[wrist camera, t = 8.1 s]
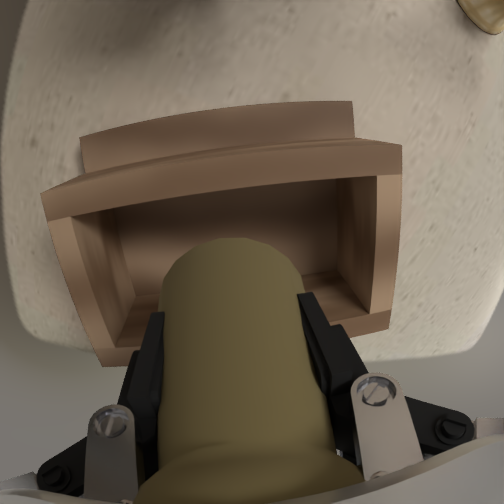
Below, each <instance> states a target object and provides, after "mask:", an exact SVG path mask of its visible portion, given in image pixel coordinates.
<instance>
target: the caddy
mask: <svg viewBox="0 0 504 504" xmlns="http://www.w3.org/2000/svg"><path fill="white" fill-rule="evenodd" d="M79 139H80V145H81V151H82V157H83V163H84V169H85V174H83V175H80V176H78V177H76V178H73V179H71V180H69V181H67V182H64V183H62V184H60V185H58V186H55V187H53V188H51V189H49V190H47V191H45V192H43V193H40V194H41V199H42V203H43V207H44V211H45V215H46V219H47V223H48V226H49V230H50V234H51V237H52V241H53V244H54V247H55V250H56V254H57V257H58V260H59V263H60V266H61V269H62V272H63V275H64V278H65V281H66V283H67V286H68V289H69V292H70V294H71V297H72V299H73V302H74V305H75V307H76V310H77V312H78V314H79V317H80V319H81V322H82V324H83V326H84V329H85V331H86V333H87V335H88V338H89V340H90V342H91V344H92V346H93V349H94V351H95V353H96V355H97V357H98V359H99V361H100V363H101V365H102V367H116V366H128V365H129V362H130V359H131V355H132V353H133V351H135V350H140V348H141V344H142V341H143V338H144V334H145V331H146V328H147V325H148V321H149V318H150V315H151V313H152V312H158V305H159V296H160V292H161V287H162V283H163V279H164V277H165V276H166V274H167V273H168V271H169V270H170V268H171V267H172V265H173V264H174V262H175V261H176V260H177V259H178V258H180V257H181V256H182V255H184V254H185V253H186V252H188V251H189V250H190V249H192V248H193V247H195V246H197V245H200V244H203V243H206V242H209V241H212V240H215V239H218V238H248V239H251V240H255V241H258V242H262V243H265V244H268V245H270V246H272V247H273V248H275V249H276V250H278V251H279V252H280V253H282V254H283V255H285V256H286V257H288V258H289V260H290V261H291V262H292V264H293V265H294V267H295V268H296V269H297V271H298V272H299V274H300V275H301V278H302V282H303V286H304V290H305V293H306V292H313V293H314V295H315V297H316V299H317V301H318V303H319V305H320V307H321V308H322V310H323V312H324V314H325V316H326V318H327V320H328V322H329V324H330V326H331V325H336V324H341V325H342V326H343V328H344V329H345V331H346V333H347V335H348V337H349V338H352V337H356V336H361V335H365V334H370V333H374V332H378V331H382V330H386V329H388V328H389V322H390V316H391V310H392V303H393V296H394V288H395V280H396V272H397V262H398V252H399V240H400V225H401V205H402V145H399V144H393V143H387V142H381V141H375V140H368V139H361V138H355V133H354V118H353V106H352V101H309V102H286V103H270V104H257V105H246V106H237V107H228V108H220V109H212V110H205V111H198V112H191V113H185V114H179V115H174V116H168V117H163V118H157V119H152V120H148V121H143V122H138V123H134V124H129V125H125V126H121V127H117V128H113V129H109V130H105V131H101V132H97V133H94V134H90V135H86V136H83V137H79Z"/></svg>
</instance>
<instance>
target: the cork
mask: <svg viewBox="0 0 504 504" xmlns="http://www.w3.org/2000/svg"><path fill="white" fill-rule="evenodd" d="M300 293H305V290H304V286H303V282H302V278H301V275H300V274H299V272H298V271H297V269H296V268H295V267H294V265H293V264H292V262H291V261H290V260H289V258H288V257H286V256H285V255H283V254H282V253H280V252H279V251H278V250H276V249H275V248H273V247H272V246H270V245H268V244H265V243H262V242H258V241H255V240H251V239H248V238H218V239H215V240H212V241H209V242H206V243H203V244H200V245H197V246H195V247H193V248H192V249H190V250H189V251H188V252H186V253H185V254H184V255H182V256H181V257H180V258H178V259H177V260H176V261H175V262H174V264H173V265H172V267H171V268H170V270H169V271H168V273H167V274H166V276H165V277H164V279H163V283H162V287H161V292H160V296H159V305H158V312H162V311H164V312H165V318H164V326H163V343H164V363H163V375H162V387H161V401H160V406H159V411H158V415H157V416H158V421H157V452H158V469H159V471H157V472H156V473H155V474H154V475H153V476H152V477H150V478H149V479H148V480H147V481H146V482H144V483H143V484H142V485H141V486H140V487H139V491H138V493H137V495H136V497H135V499H134V501H133V503H132V504H268V503H274V502H279V501H284V500H289V499H295V498H300V497H305V496H310V495H315V494H320V493H324V492H328V491H332V490H336V489H340V488H344V487H348V486H351V485H355V484H358V483H362V482H365V481H366V480H365V479H364V477H363V475H362V473H361V471H360V469H359V467H357V466H356V465H354V464H353V463H351V462H350V461H348V460H346V459H344V458H342V457H341V456H339V455H337V451H336V445H335V440H334V434H333V428H332V423H331V418H330V412H329V407H328V403H327V398H326V396H325V395H324V394H323V393H322V392H321V389H320V385H319V382H318V378H317V375H316V371H315V368H314V364H313V361H312V357H311V354H310V350H309V347H308V343H307V340H306V336H305V333H304V330H303V326H302V321H301V314H300V307H299V300H298V296H297V294H300Z"/></svg>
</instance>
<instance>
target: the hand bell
mask: <svg viewBox="0 0 504 504" xmlns="http://www.w3.org/2000/svg"><path fill="white" fill-rule="evenodd" d="M457 1H458V3H459V4H460V6H461V7H462V9H463V10H464V12H465V13H466V14H467V16H468V17H469V18H470V19H471V20H472V21H473V22H474V23H475V24H476V25H477V26H478V27H479V28H481V29H482V30H484V31H485V32H487V33H490V34H499V33H501V32H502V31H503V30H504V0H457Z"/></svg>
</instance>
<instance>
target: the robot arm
mask: <svg viewBox="0 0 504 504" xmlns="http://www.w3.org/2000/svg"><path fill="white" fill-rule="evenodd" d="M297 296H298V300H299V307H300V314H301V321H302V326H303V330H304V333H305V336H306V340H307V343H308V347H309V350H310V354H311V357H312V361H313V364H314V368H315V371H316V375H317V378H318V382H319V385H320V389H321V392H322V393H323V394H324V395H325V396H326V398H327V403H328V407H329V412H330V418H331V423H332V428H333V434H334V440H335V445H336V449H338V450H340V451H339V452H340V456H341V457H342V458H344V459H346V460H348V461H350V462H351V463H353V464H354V465H356V466H357V467H359V469H360V471H361V473H362V475H363V477H364V479H365V480H366V481H365V482H362V483H358V484H355V485H351V486H348V487H344V488H340V489H336V490H332V491H328V492H324V493H320V494H315V495H310V496H305V497H300V498H295V499H289V500H284V501H279V502H274V503H268V504H504V418H479V417H477V418H476V419H475V421H471V420H470V418H469V417H468V416H466V415H465V414H463V413H461V412H459V411H455V410H451V409H448V408H444V407H440V406H437V405H433V404H430V403H426V402H422V401H420V400H416V399H413V398H409V397H406V396H404V394H403V391H402V388H401V386H400V384H399V382H398V381H397V380H396V379H394V378H393V377H391V376H389V375H387V374H383V373H368V371H367V369H366V367H365V365H364V363H363V362H362V360H361V358H360V356H359V354H358V353H357V351H356V349H355V347H354V345H353V344H352V342H351V340H350V338H349V337H348V335H347V333H346V331H345V329H344V328H343V326H342V325H341V324H336V325H331V326H330V324H329V322H328V320H327V318H326V316H325V314H324V312H323V310H322V308H321V307H320V305H319V303H318V301H317V299H316V297H315V295H314V293H313V292H306V293H300V294H297ZM164 318H165V312H164V311H162V312H152V313H151V315H150V318H149V321H148V325H147V328H146V331H145V334H144V338H143V341H142V344H141V348H140V350H135V351H133V353H132V355H131V359H130V362H129V365H128V368H127V372H126V375H125V378H124V382H123V385H122V389H121V392H120V396H119V399H118V403H117V405H108V406H105V407H103V408H101V409H99V410H98V411H96V412H95V413H94V414H93V416H92V417H91V418H90V421H89V424H88V433H87V437H85V438H83V439H82V440H80V441H79V442H77V443H75V444H74V445H72V446H71V447H69V448H67V449H66V450H64V451H63V452H61V453H59V454H58V455H56V456H54V457H53V458H51V459H49V460H48V461H46V462H45V463H44V464H42V465H41V467H40V468H39V470H38V473H37V474H35V473H34V472H30V473H27V474H24V475H21V476H17V477H14V478H11V479H8V480H4V481H1V482H0V504H132V503H133V501H134V499H135V497H136V495H137V493H138V491H139V487H140V486H141V485H142V484H143V483H144V482H146V481H147V480H148V479H149V478H150V477H152V476H153V475H154V474H155V473H156V472H157V471H159V469H158V452H157V421H158V416H157V415H158V411H159V406H160V401H161V387H162V375H163V363H164V343H163V326H164Z"/></svg>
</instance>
